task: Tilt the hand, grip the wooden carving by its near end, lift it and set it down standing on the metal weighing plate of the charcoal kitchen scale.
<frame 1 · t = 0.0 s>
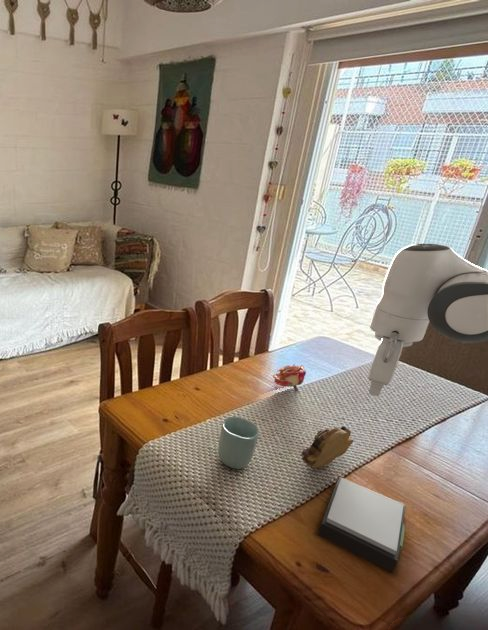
hand: (376, 384, 92), 23 cm above the table, tool pointing down, fingers open, 8 cm apart
cup: (232, 462, 103), on the table
kitchen scale: (360, 525, 87), on the table
wooden carving: (321, 463, 103), on the table
flower: (285, 387, 134), on the table
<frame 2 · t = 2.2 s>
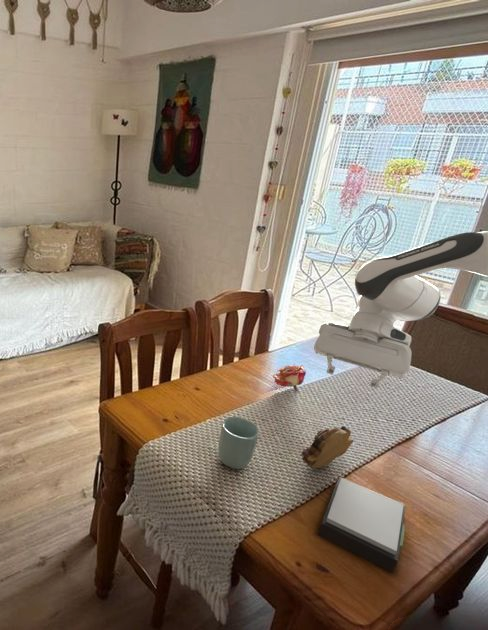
hand: (351, 380, 108), 16 cm above the table, tool tilted 45°, fingers open, 8 cm apart
nothing on the table moved.
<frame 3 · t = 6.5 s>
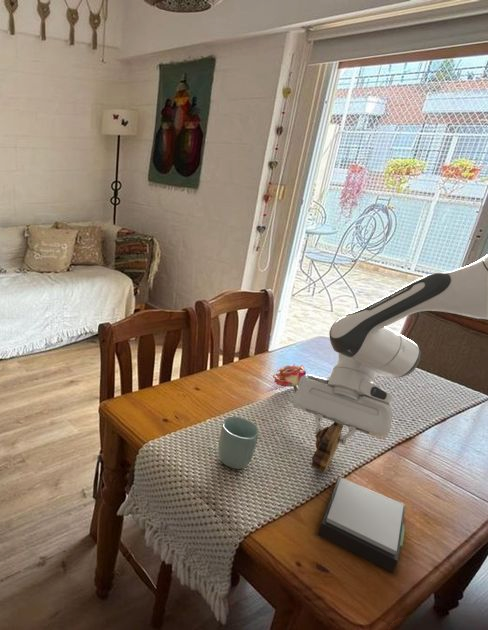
hand: (329, 439, 103), 5 cm above the table, tool tilted 45°, fingers closed on wooden carving, 3 cm apart
wooden carving: (324, 464, 103), on the table, touching gripper
everything else where it was.
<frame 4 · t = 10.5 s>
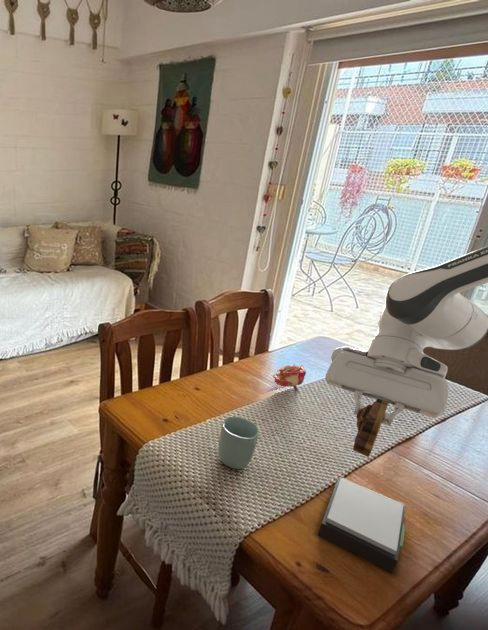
hand: (372, 419, 88), 19 cm above the table, tool tilted 45°, fingers closed on wooden carving, 3 cm apart
wooden carving: (365, 448, 88), point 14 cm above the table, touching gripper
everything else where it was.
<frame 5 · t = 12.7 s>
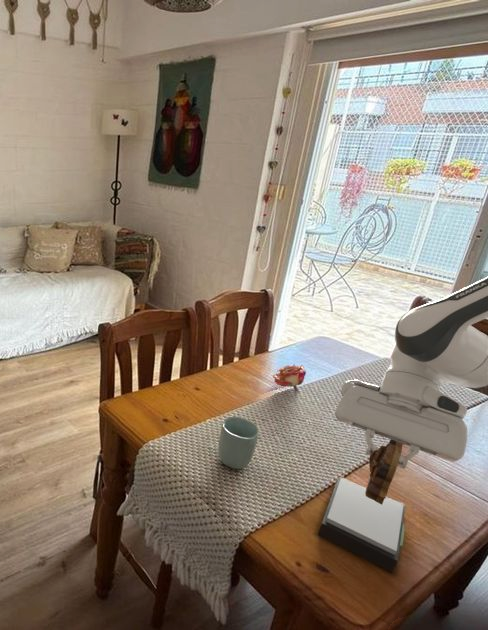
hand: (384, 460, 83), 15 cm above the table, tool tilted 45°, fingers closed on wooden carving, 3 cm apart
wooden carving: (378, 492, 82), point 9 cm above the table, touching gripper
everything else where it was.
when the fingers open (9 cm above the table, at t = 14.6 s): wooden carving stays where it is, resting on kitchen scale.
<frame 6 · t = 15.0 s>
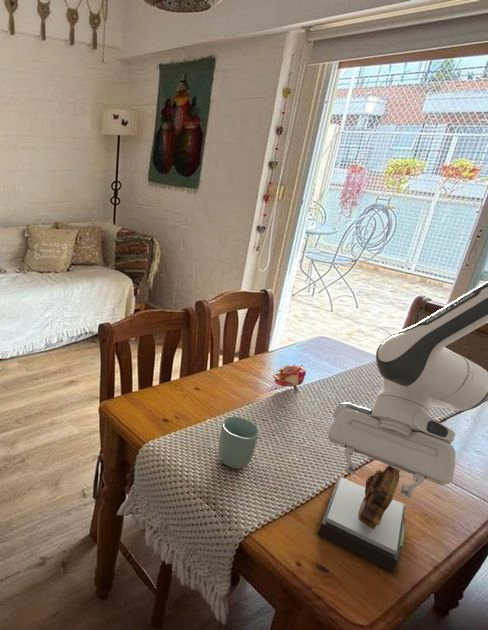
hand: (376, 483, 85), 9 cm above the table, tool tilted 45°, fingers open, 8 cm apart
wooden carving: (369, 514, 85), point 4 cm above the table, touching kitchen scale
everything else where it was.
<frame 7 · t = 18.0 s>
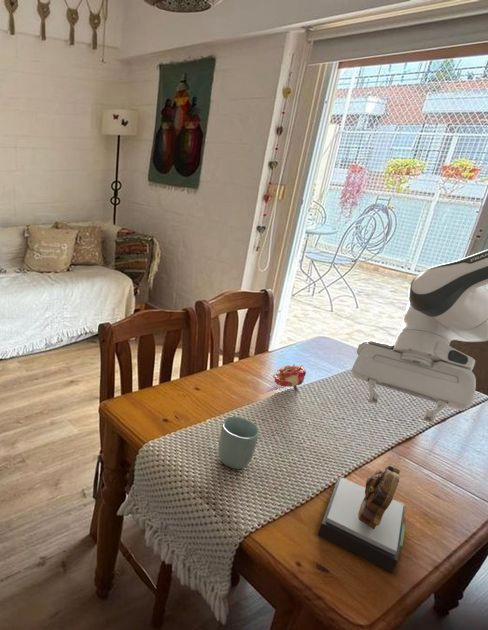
hand: (399, 411, 89), 20 cm above the table, tool tilted 45°, fingers open, 8 cm apart
nothing on the table moved.
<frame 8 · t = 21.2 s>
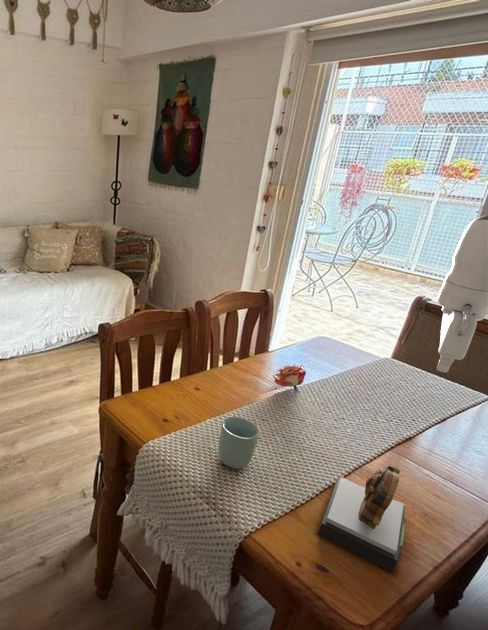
hand: (442, 361, 89), 29 cm above the table, tool pointing down, fingers open, 8 cm apart
nothing on the table moved.
at the end: wooden carving inside the target area (0.7 cm from its centre), point 3.8 cm above the table; wooden carving tilted 0°; the gripper is holding nothing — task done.
